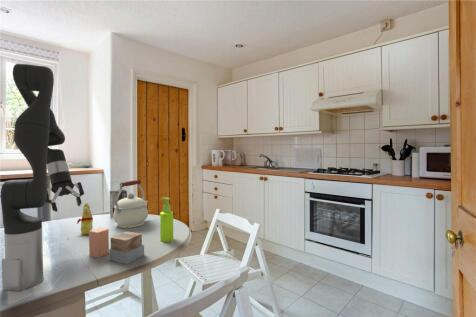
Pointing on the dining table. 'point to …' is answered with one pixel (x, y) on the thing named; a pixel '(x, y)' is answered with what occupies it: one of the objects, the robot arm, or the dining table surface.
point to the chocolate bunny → (86, 220)
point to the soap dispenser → (166, 222)
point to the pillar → (98, 242)
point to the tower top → (126, 241)
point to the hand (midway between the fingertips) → (68, 208)
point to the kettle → (130, 208)
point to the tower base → (126, 254)
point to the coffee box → (113, 197)
